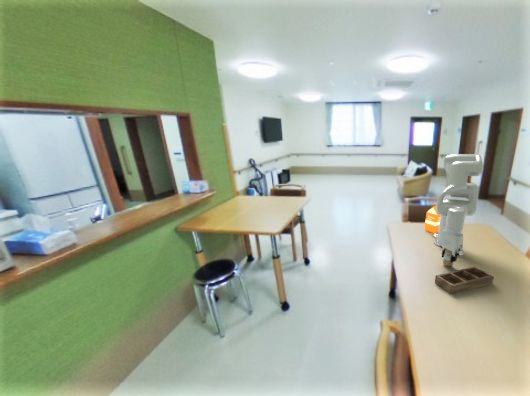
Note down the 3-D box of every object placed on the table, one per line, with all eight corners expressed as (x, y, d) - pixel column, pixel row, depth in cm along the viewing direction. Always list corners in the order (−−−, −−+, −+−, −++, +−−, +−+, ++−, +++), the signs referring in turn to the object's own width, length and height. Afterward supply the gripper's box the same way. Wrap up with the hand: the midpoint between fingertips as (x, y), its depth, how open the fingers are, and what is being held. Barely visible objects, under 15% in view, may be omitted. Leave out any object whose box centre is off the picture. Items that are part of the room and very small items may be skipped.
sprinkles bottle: (442, 264, 132) (445, 243, 128) (443, 260, 135) (446, 240, 131) (452, 267, 129) (456, 245, 125) (453, 263, 132) (456, 242, 128)
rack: (434, 282, 119) (435, 275, 118) (472, 273, 124) (474, 266, 123) (451, 294, 111) (453, 286, 109) (492, 283, 115) (493, 275, 114)
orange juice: (424, 229, 178) (427, 205, 173) (432, 227, 181) (435, 203, 175) (434, 233, 171) (438, 208, 166) (442, 230, 174) (446, 205, 168)
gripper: (433, 225, 133) (429, 253, 138) (463, 237, 117) (458, 268, 122) (444, 223, 134) (440, 250, 140) (475, 235, 119) (469, 265, 124)
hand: (448, 258), depth 131 cm, fingers closed on sprinkles bottle, 4 cm apart
